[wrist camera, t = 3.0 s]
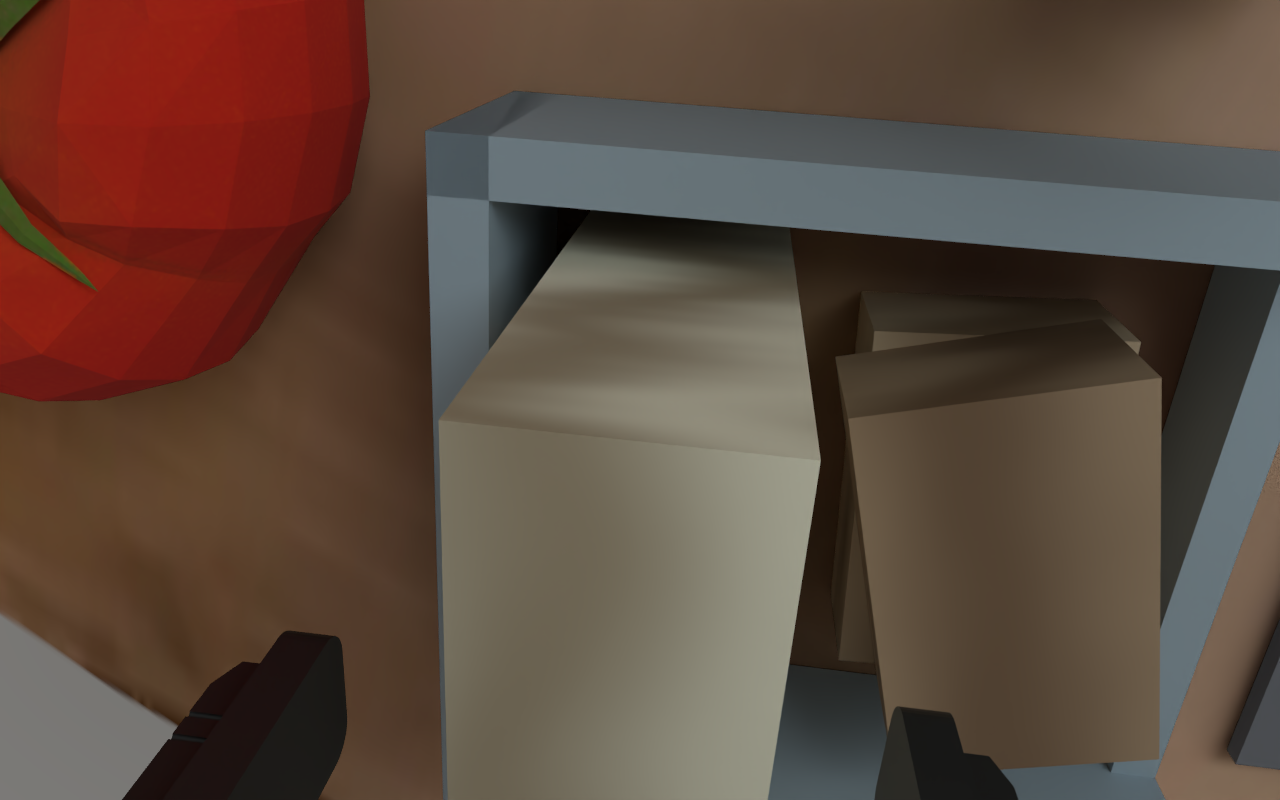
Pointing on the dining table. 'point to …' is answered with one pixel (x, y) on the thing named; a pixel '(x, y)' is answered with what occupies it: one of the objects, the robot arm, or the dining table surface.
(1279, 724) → the mat
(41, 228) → the tomato
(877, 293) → the offcut block lower
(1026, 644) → the offcut block upper
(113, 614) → the dining table surface
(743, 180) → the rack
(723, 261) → the beige hardcover book
